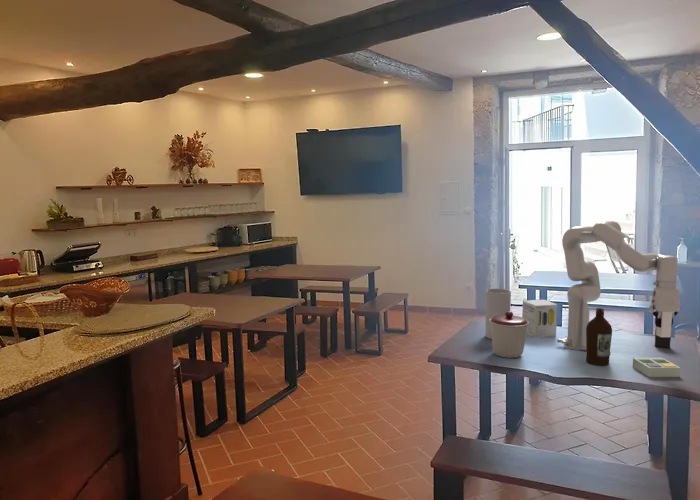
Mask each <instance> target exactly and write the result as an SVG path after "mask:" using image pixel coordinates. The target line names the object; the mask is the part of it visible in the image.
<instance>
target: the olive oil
mask: <svg viewBox="0 0 700 500" xmlns="http://www.w3.org/2000/svg"><path fill="white" fill-rule="evenodd" d="M612 336H613V329H612V325H611V324H610V323H609V321H608V320H607V319H606V318H605V308H602V307H596V309H595V316H594V317H593V318H591V320H589V323H588V324H587V327H586V350H585V351H586V352H585V354H586V357H585V361H586V363H587V364H589V365H592V366H597V367H598V366H599V367H604V366H605V367H606V366H609V364H610V356H611V346H612Z"/></svg>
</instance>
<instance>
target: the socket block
mask: <svg viewBox="0 0 700 500" xmlns="http://www.w3.org/2000/svg"><path fill="white" fill-rule="evenodd" d="M632 367H633V368H634V369H635V370H637V371H639V372H640V373H642V374H643V375H644V376H645V377H647V378H680V377H681V367H680V366H678V365H676V364H675V363H673V362H671V361H669V360H667V359H665V358H664V357H632Z"/></svg>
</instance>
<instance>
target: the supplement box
mask: <svg viewBox="0 0 700 500" xmlns="http://www.w3.org/2000/svg"><path fill="white" fill-rule="evenodd" d="M557 313H558V304H557V303H554V302H552V301H549V300H547V299H531V300H522V314H521V315H522V316H521V317H522V318H524V319H526V320H527V321H529V324H528V325H527V332H526V335H529V336H530V337H532V338H534V339H535V338H551V337H557V326H558V325H557V323H558V322H557V321H558V314H557Z"/></svg>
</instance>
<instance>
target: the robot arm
mask: <svg viewBox="0 0 700 500" xmlns="http://www.w3.org/2000/svg"><path fill="white" fill-rule="evenodd" d="M597 242H598V243H599V242H602V243H603V244H605V245H606V246H607V247H609V248H610V249H612V250H613V251H614V252H615V253H616V254H617V257H618V258H619V259H620V260H621V261H622V263H624V264H626V266H628V267H630V268H631V269H632V270H635V271H637V272H640V273H645V272H650V271H651V272H653V271H655V272H656V274H655V275H656V277H655V281H653V282H652V285H653V286H654V288H653V291H652V295H651V299H650V300H651V301H650V303H651V304H650V306H649V307H648V309H647V311H648V312H649V313H650V314H652V315H653V316H654V317H655V319H654V324H655V327H656V326H657V327H659V328H661V320H662V319H661V318H660V317H661V313H662V312H672V323H671V328H673V324H674V319H675V317H676V316H677V315H678V314H680V313H681V312H682V310H683V309H682V308H681V298H680V290H679V288H678V287H677V278H678V263H679V261H678V258H677V256H675V255H668V254H665V255H664V254H658V253H652V252H651V253H640V252H639V251H637V250H635V249H634V248H633V247H632V246H631V245H630V242H631V238H630V237H629V235H627V234H625V233H624V232H622V228H621V225H620V224H619V223H618V222H616V221H615V220H603V221H598V222H596V223H595V224H591V225H578V226H574V227H571V228H569V229H567V230H566V231H565V232H564V234H563V235H562V240H561V244H562V248H563V249H562V250H563V252H564V257H565V258H564V259H565V267H566V272H567V273H566V274H567V276H568V278H569V279H568V280H571V281H572V282H581V283H577V284H574V285H571V286H570V287H569V288H568V290H567V292H566V293H567V294H566V295H567V296H566V297H567V303H568V316H567V317H568V319H567V320H568V321H567V336H565V337H563V338H557V340H556V341H557V343H561V344H563V346H564V348H567V349H570V350H574V351H575V350H576V351H586V327H587V324H588V323H589V322H590V307H589V305H588V303H591V302H595V301H597V300H598V299H599V298H600V297H601V293H602V291H601V290H602V289H601V283H600V276H599V270H598V268H597V266H596V264H595V263H593V262H592V261H590V260H585V254H584V252H583V249H582V247H581V246H580V245H581V244H592V243H597Z"/></svg>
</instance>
